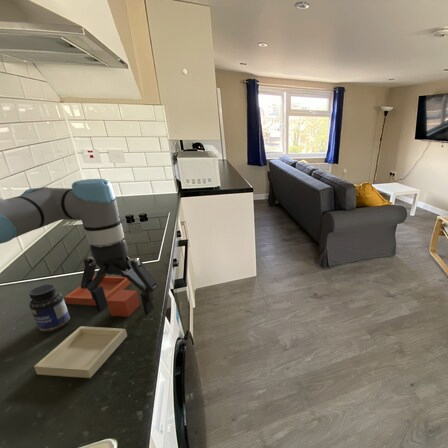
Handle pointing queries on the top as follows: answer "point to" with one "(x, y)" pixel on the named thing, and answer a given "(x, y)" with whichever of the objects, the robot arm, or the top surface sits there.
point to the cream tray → (81, 352)
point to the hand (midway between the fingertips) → (126, 309)
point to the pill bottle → (48, 308)
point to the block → (123, 303)
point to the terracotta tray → (108, 284)
